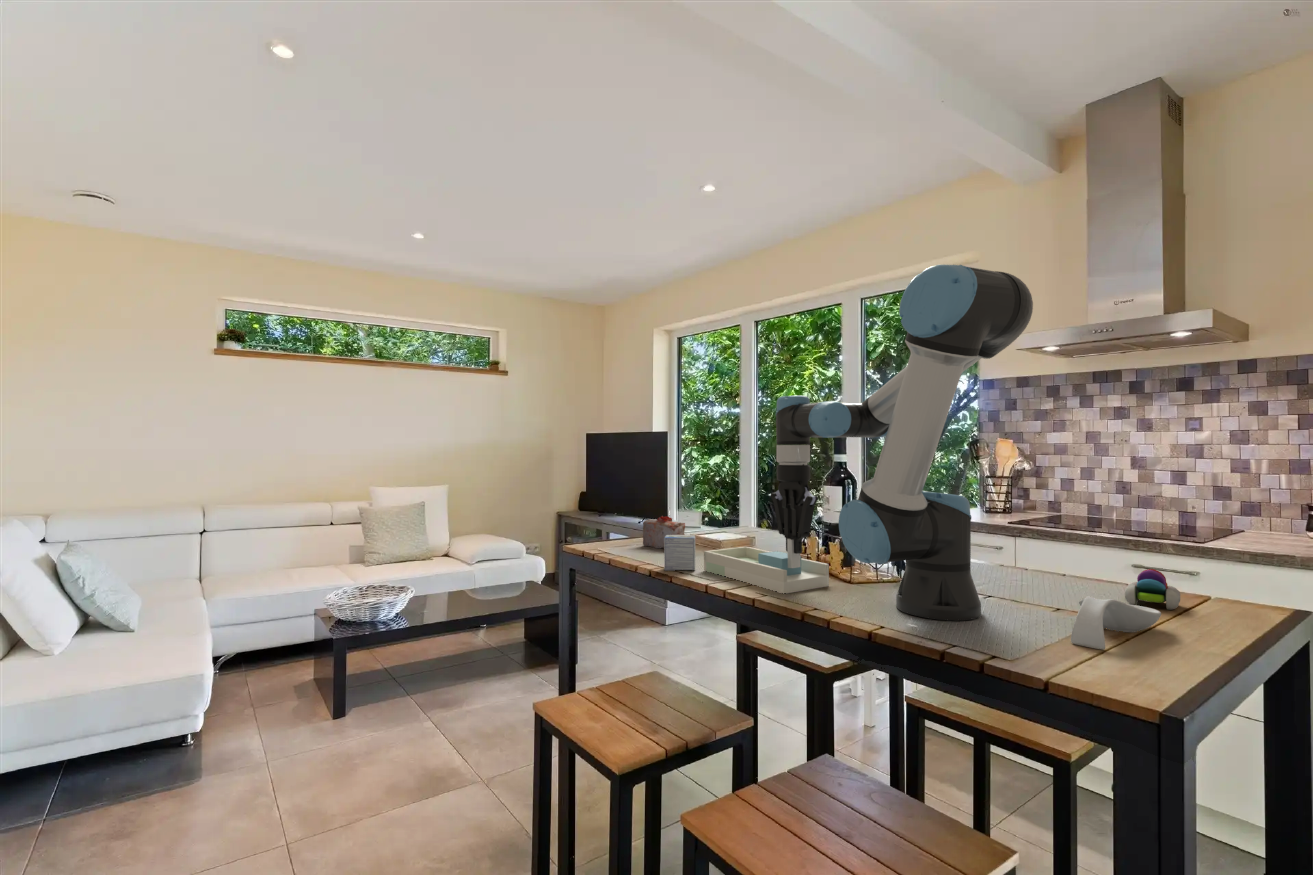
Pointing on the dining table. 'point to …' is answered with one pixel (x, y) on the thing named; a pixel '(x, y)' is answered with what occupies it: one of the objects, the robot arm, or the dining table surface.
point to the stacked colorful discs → (1152, 590)
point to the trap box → (765, 570)
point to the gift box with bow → (660, 531)
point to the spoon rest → (1108, 620)
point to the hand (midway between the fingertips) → (794, 567)
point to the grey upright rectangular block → (679, 552)
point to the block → (778, 561)
